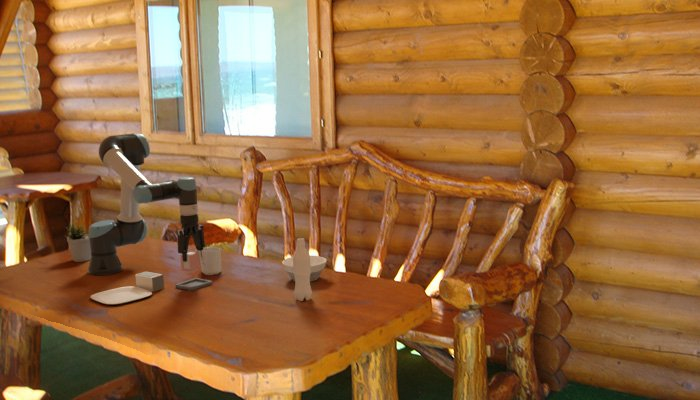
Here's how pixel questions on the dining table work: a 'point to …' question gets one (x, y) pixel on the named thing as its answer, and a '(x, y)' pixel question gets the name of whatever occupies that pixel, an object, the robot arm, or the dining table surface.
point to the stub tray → (193, 284)
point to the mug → (211, 260)
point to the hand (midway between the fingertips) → (192, 266)
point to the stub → (191, 262)
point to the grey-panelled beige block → (149, 281)
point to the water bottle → (302, 271)
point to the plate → (121, 295)
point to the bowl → (315, 264)
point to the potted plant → (79, 244)
